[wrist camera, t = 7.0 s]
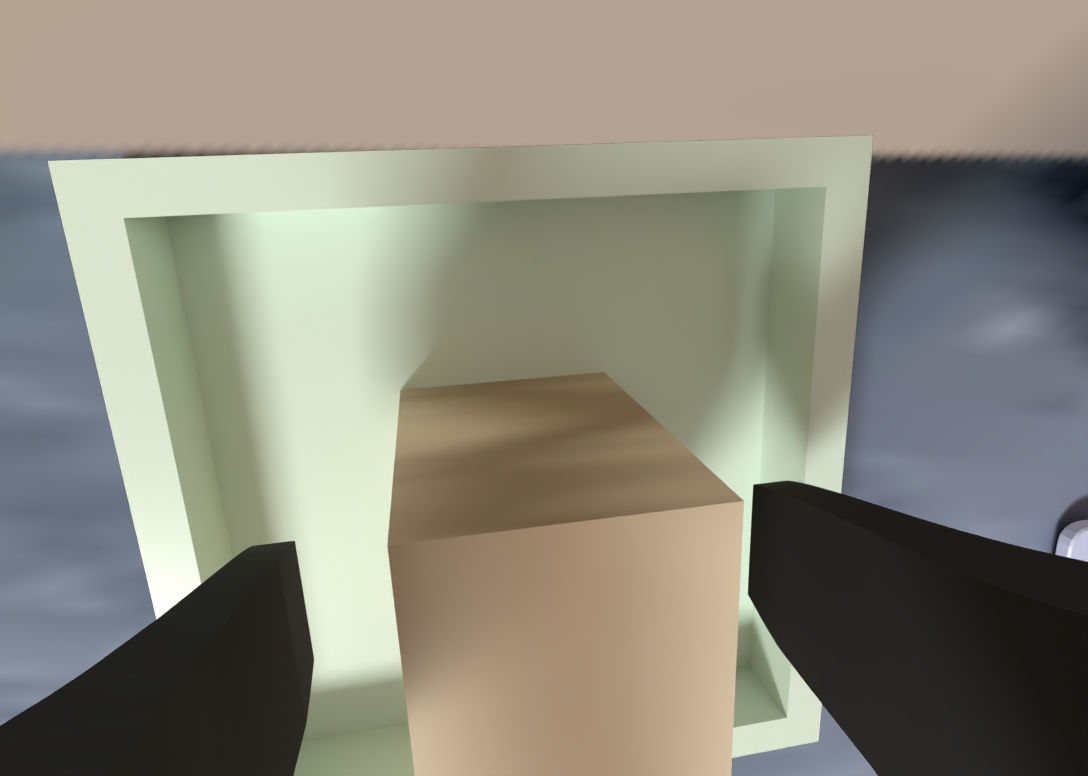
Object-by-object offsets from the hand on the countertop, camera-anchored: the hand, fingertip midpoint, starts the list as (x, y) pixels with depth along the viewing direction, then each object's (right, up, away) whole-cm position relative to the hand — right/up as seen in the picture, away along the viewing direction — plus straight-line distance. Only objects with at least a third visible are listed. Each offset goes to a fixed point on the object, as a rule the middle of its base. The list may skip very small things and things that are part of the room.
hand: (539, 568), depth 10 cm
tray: (-1, +1, +4) cm, 4 cm away
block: (-1, +1, +3) cm, 3 cm away
